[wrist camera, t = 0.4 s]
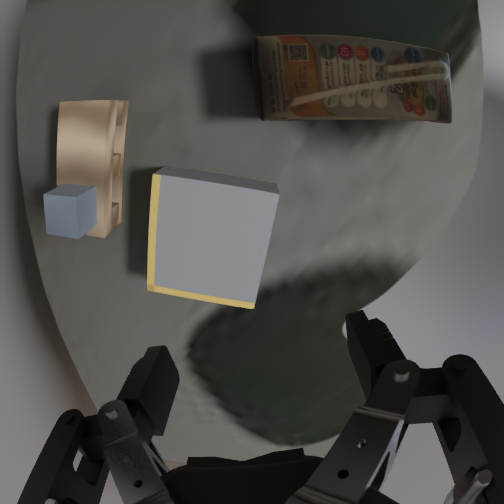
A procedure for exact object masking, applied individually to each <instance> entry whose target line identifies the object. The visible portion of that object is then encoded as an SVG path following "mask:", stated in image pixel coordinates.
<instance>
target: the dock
mask: <svg viewBox="0 0 504 504" xmlns="http://www.w3.org/2000/svg"><path fill="white" fill-rule="evenodd" d="M279 195H280V194H279V190H278V187H277V184H272V183H266V182H261V181H256V180H250V179H244V178H239V177H233V176H227V175H221V174H214V173H208V172H201V171H194V170H188V169H180V168H173V167H163V168H161V169H160V170H158V171H157V172H155V173H153V177H152V188H151V201H150V216H149V235H148V266H147V290H149V291H154V292H159V293H164V294H169V295H174V296H179V297H185V298H190V299H196V300H201V301H207V302H213V303H219V304H225V305H231V306H237V307H243V308H249V309H254V306H255V301H256V297H257V293H258V288H259V284H260V280H261V275H262V271H263V267H264V262H265V258H266V253H267V249H268V245H269V240H270V236H271V231H272V227H273V222H274V218H275V213H276V209H277V204H278V200H279Z"/></svg>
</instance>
